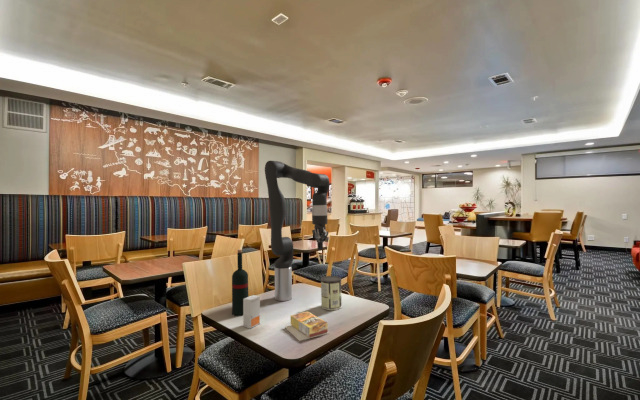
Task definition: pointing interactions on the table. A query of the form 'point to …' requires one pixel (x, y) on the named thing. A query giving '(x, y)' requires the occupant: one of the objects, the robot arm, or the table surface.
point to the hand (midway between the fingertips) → (320, 249)
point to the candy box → (309, 324)
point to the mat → (300, 333)
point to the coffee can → (331, 292)
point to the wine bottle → (239, 287)
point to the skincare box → (251, 311)
